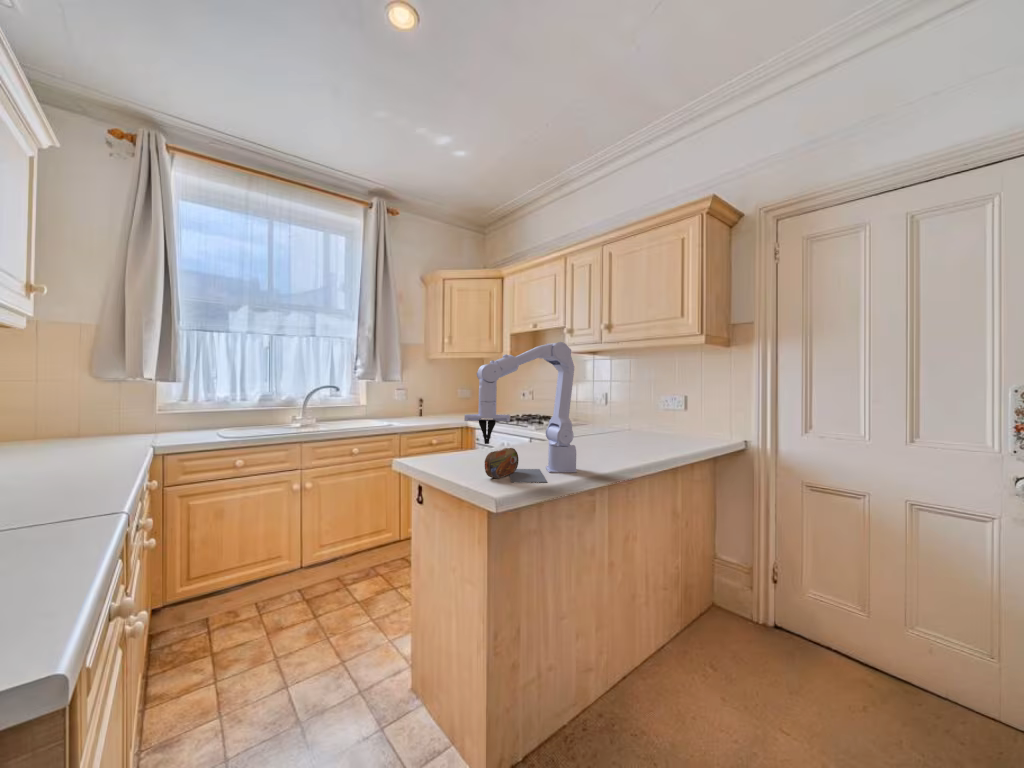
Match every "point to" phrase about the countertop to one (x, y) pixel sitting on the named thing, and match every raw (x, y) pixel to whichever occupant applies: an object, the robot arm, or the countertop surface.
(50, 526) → the countertop surface
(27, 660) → the countertop surface
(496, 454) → the tin
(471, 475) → the countertop surface
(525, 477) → the mat
